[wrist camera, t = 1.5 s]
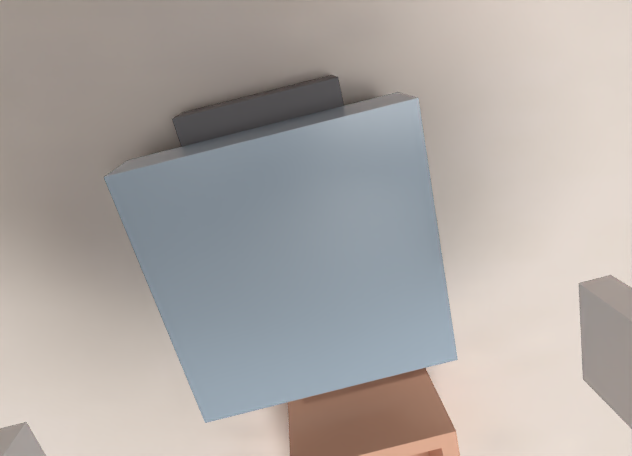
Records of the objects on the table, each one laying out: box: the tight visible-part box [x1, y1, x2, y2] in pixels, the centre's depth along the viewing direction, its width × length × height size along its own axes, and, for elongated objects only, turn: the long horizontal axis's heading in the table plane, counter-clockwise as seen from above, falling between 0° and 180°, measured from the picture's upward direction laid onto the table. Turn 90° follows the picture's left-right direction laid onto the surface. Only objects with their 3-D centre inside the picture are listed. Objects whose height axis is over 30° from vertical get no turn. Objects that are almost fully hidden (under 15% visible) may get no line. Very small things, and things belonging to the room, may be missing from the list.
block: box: [172, 75, 344, 146], centre depth 19 cm, size 12×6×2 cm, turn 13°
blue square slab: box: [104, 92, 458, 423], centre depth 17 cm, size 10×10×2 cm
